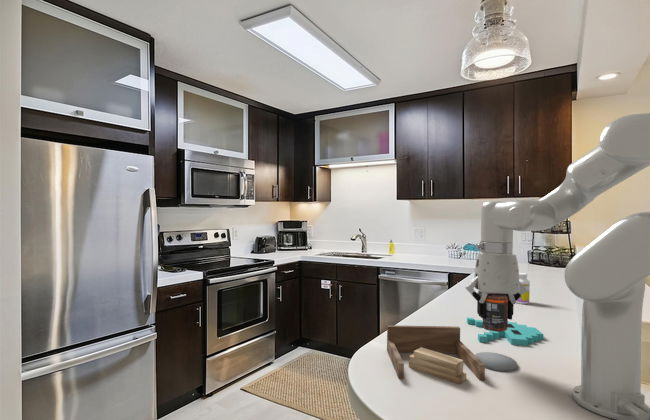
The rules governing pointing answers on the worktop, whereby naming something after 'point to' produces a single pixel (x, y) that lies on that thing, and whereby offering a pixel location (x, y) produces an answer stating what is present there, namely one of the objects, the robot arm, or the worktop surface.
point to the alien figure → (510, 333)
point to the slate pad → (497, 361)
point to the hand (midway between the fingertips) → (495, 317)
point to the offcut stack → (438, 365)
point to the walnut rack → (429, 345)
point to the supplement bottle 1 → (496, 312)
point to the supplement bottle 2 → (525, 296)
